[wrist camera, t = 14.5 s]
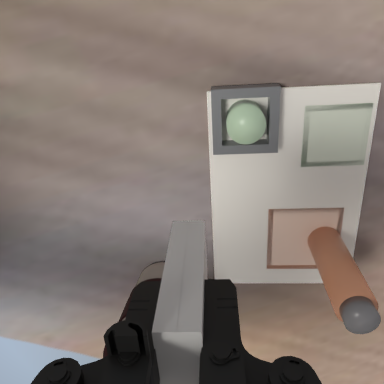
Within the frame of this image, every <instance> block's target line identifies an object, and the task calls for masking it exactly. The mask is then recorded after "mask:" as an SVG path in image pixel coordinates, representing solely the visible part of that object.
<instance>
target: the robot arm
mask: <svg viewBox="0 0 384 384" xmlns="http://www.w3.org/2000/svg"><path fill="white" fill-rule="evenodd" d="M207 274H208V267H207V248H206V229H205V220H199V221H173V223H172V228H171V233H170V239H169V244H168V249H167V254H166V260H165V265H164V270H163V275H162V281H142V282H140V283H139V284H138V286H137V287H136V288H135V289H134V290H133V293H132V297H131V300H130V301H131V302H130V304H129V307H128V311H127V314H126V318H125V320H123V321H120V322H118V323H116V324H114V325H112V326H111V327H110V328H109V329H108V330H107V331H106V333H105V335H104V340H105V344H106V349H107V353H108V356H106V357H104V358H103V359H100V360H98V361H96V362H92V363H89V364H85V365H82V366H80V364H79V363H78V361H76V360H74V359H72V358H61V359H58V360H55V361H53V362H51V363H49V364H48V365H46V366H45V367H44V368H43V369H42V370H41V371H40V372H39V374H38V375H37V376H36V377H35V379H34V380H33V381H32V383H31V384H322V383H321V381H320V380H319V378H318V376H317V375H316V373H315V371H314V370H313V369H312V367H311V366H310V365H309V364H308V363H306V362H305V361H303V360H302V359H300V358H296V357H293V356H283V357H281V358H278V359H276V360H275V361H274V362H273V363H270V362H266V361H263V360H260V359H258V358H255V357H254V356H252V355H251V354H249V353H248V352H247V351H246V350H245V348H244V346H243V345H242V341H241V335H240V324H239V313H238V303H237V292H236V287H235V286H234V284H233V283H232V281H231V280H230V279H207Z"/></svg>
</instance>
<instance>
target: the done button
mask: <svg viewBox="0 0 384 384" xmlns="http://www.w3.org/2000/svg"><path fill="white" fill-rule="evenodd" d="M226 126H227V132H228V134H229V136H230V137H231V139H232V140H234V141H235V142H237V143H239V144H252V143H254V142H256V141H258V140H259V139H260V138H261V137H262V136H263V134H264V132H265V129H266V119H265V117H264V115H263V112H262V110H261V108H260V107H259V105H258V104H256V103H255V102H253V101H251V100H239V101H237V102H235V103H234V104H232V105H231V106H230V108H229V109H228V111H227V114H226Z"/></svg>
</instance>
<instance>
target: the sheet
mask: <svg viewBox="0 0 384 384" xmlns="http://www.w3.org/2000/svg"><path fill="white" fill-rule="evenodd" d="M380 87H381V83H380V82H378V83H357V84H337V85H317V86H297V87H281V93H280V115H279V138H278V153H255V154H226V155H213V135H212V108H211V91H207V109H208V133H209V156H210V180H211V204H212V228H213V252H214V276H215V279H230V280H231V281H232V283H323V281H322V279H321V276H320V274H319V271H318V268H317V266H316V263H315V261H314V258H313V256H312V253H311V251H310V248H309V246H308V237H309V235H310V234H311V232H312V231H314V230H315V229H317V228H320V227H331V228H334V229H335V230H337V231H338V233H339V234H340V236H341V238H342V240H343V242H344V243H345V245H346V247H347V249H348V250H349V252H350V254H351V256H352V258H353V256H354V250H355V243H356V237H357V231H358V225H359V219H360V212H361V206H362V200H363V194H364V187H365V181H366V175H367V169H368V162H369V156H370V150H371V144H372V137H373V131H374V125H375V119H376V112H377V106H378V100H379V94H380ZM239 100H251V101H253V102H255V103H256V104H258V105H259V107H260V108H261V110H262V112H263V115H264V117H265V119H266V129H265V132H264V134H263V136H262V137H261V138H260V139H267V108H268V97H259V98H238V99H221V120H222V140H232V139H231V137H230V136H229V134H228V132H227V126H226V114H227V111H228V109H229V108H230V106H231V105H232V104H234V103H235V102H237V101H239Z"/></svg>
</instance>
